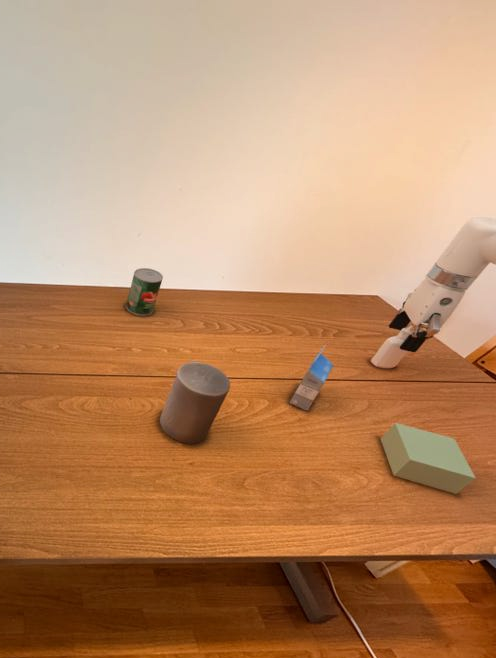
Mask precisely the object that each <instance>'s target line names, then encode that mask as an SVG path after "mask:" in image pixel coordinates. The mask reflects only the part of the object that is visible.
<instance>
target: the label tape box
mask: <svg viewBox="0 0 496 658" xmlns="http://www.w3.org/2000/svg"><path fill="white" fill-rule="evenodd" d="M327 345H328V344H324V346H323V347H322V348H321V349H320V350H319V352H318V353H317V354H316V357H314V360H313V361H312V362H311V364H310V366H309V368H308V370H306V373H305V374H304V376H303V378H302V379H301V381H300V383H299V385H298V386H297V388H296V390H295V392H294V394H293V395H292V397H291V400H289V404H290V405H293V406H294V407H297V408H299V409H302V410H304V411H305V412H306V411H307V412H308V410H310V407H311V405H312V404H313V402H314V400H316V397H317V396H318V394H319V393H320V391H321V390H322V388H323V386H324V384H325V383H326V381H327V380H328V378H329V375H330V373H331V371H332V369H333V368H334V363H333V362H331V361H330V360H329V358H327V357H326V356H325V355H323V354H322V352H323V350H324V348H325V347H326V346H327Z"/></svg>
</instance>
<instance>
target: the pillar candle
mask: <svg viewBox="0 0 496 658" xmlns="http://www.w3.org/2000/svg"><path fill="white" fill-rule="evenodd" d="M230 388H231V381H230V378H229V377H228V376H227V375H226V374H225V373H224V371H222V370H221V369H219V368H217V367H216V366H214V365H211V364H208V363H204V362H201V361H189V362H186V363H183V364H182V365H180V366H179V368H178V369H177V372H176V375H175V378H174V380H173V383H172V385H171V388H170V391H169V393H168V396H167V399H166V401H165V404H164V406H163V409H162V411H161V415H160V417H159V424H160V425H159V426H160V427H161V429H162V431H163V432H164V433H165V434H166V435H167V436H168V437H170V438H171V439H173V440H175V441H177V442H180V443H182V444H186V445H196V444H200V443H201V442H203V441H204V440H206V439H207V436H208V433H209V431H210V430H211V428H212V425H213V423H214V421H215V419H216V417H217V415H218V414H219V411H220V409H221V407H222V405H223V403H224V401H225V400H226V397H227V395H228V393H229V391H230V390H231V389H230Z"/></svg>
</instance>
